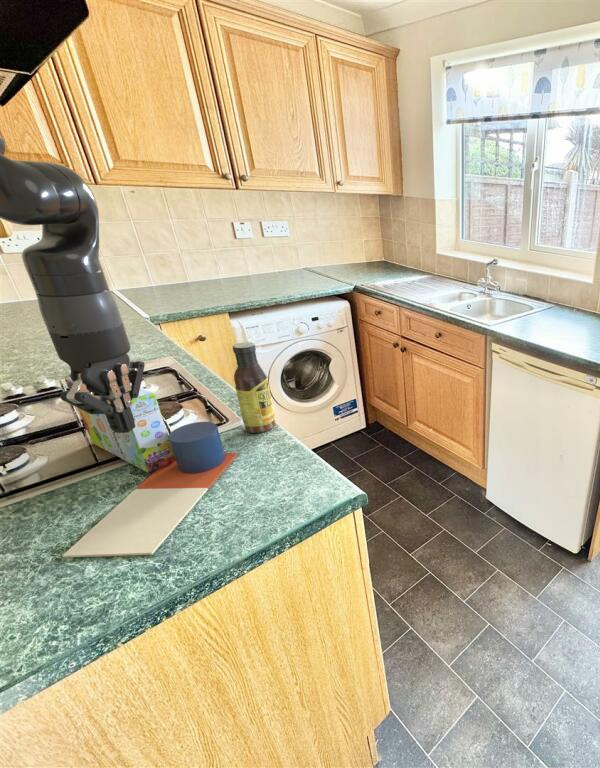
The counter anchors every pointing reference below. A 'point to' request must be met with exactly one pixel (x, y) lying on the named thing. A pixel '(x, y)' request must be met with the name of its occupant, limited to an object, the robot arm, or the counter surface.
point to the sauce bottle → (252, 390)
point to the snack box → (134, 434)
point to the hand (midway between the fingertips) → (125, 430)
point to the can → (197, 447)
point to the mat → (148, 513)
